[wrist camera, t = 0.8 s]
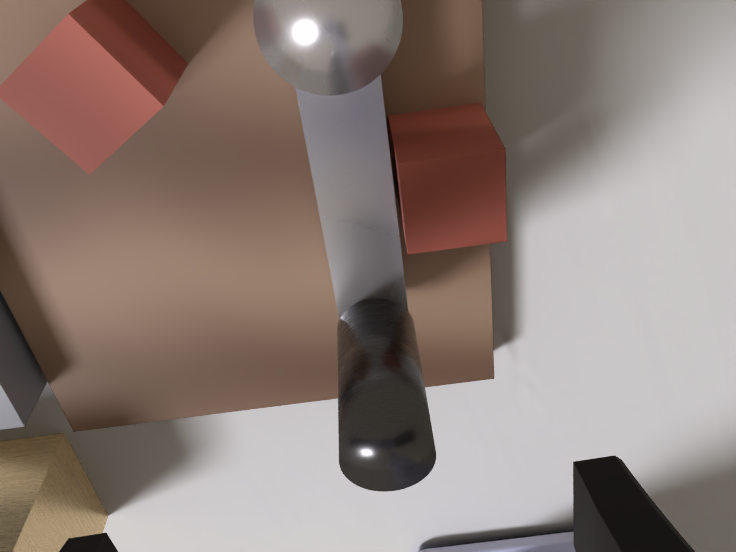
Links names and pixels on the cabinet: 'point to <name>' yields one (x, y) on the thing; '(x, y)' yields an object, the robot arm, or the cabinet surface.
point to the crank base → (223, 206)
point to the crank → (357, 225)
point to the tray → (16, 373)
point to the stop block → (45, 495)
